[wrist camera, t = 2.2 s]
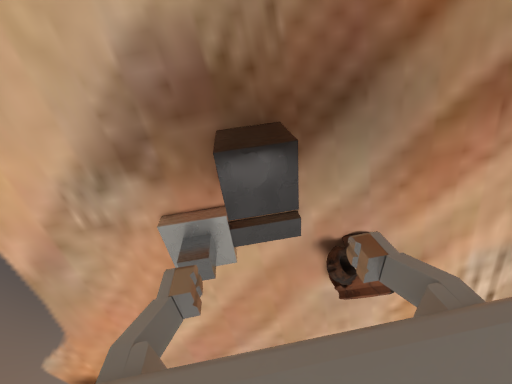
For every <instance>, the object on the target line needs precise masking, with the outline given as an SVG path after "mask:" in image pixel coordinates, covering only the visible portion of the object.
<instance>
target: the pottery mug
mask: <svg viewBox="0 0 512 384" xmlns="http://www.w3.org/2000/svg"><path fill="white" fill-rule="evenodd" d="M355 235H360V234H353V235H348V236H345V237H343V238H342V239H343V242H344V246H345V248H343V247H340V246H336V247H334V248H333V249H332V251H331V252H330V253H329V255H328V258H327V270H328V273H329V278H330V280H331V282H332V283H333V285H334V286H335V289H336V290H337V291H338V292H339V298H340V299H344V300H346V299H358V298H366V297H373V296H378V295H387V294H392V293H394V291H393V290H391V289H390V288H388V287H387V286H385V285H384V284H383V283H381V282H380V280H379V281H373V282H367V283H363V282H362V281H361V279H360V278H359V276H358V274H357V273H356V269H355V268H354V267H353V266H352V265H351V264H350V262H349V260H348V258H347V253H346V251H347V247H348V246H349V245H350V244H349V243H348V238H349V237H350V236H355Z"/></svg>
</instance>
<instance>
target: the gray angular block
mask: <svg viewBox="0 0 512 384" xmlns="http://www.w3.org/2000/svg"><path fill="white" fill-rule="evenodd" d="M157 228H158V230H159V232H160V234H161V237H162V239H163V241H164V243H165V245H166V248H167V250H168V252H169V254H170V256H171V258H172V261H173V263H174V265H175V267H176V268H178V267H185V266H191V265H197V267H198V274H199V275H201V278H202V281H203V280H209V279H214V278H215V277H216V266H219V265H225V264H231V263H237V252H236V247H238V246H244V245H249V244H255V243H261V242H267V241H273V240H279V239H285V238H291V237H297V236H301V217H300V215H299V213H298V211H293V212H286V213H280V214H274V215H268V216H262V217H256V218H250V219H244V220H238V221H231V222H230V220H229V221H228V216H227V212H226V208H225V206H224V207H218V208H212V209H205V210H199V211H193V212H187V213H180V214H174V215H168V216H162V217H161V219H160V221H159V224H158V226H157Z"/></svg>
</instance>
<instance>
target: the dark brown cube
mask: <svg viewBox="0 0 512 384" xmlns="http://www.w3.org/2000/svg"><path fill="white" fill-rule="evenodd" d="M213 155H214V159H215V164H216V168H217V172H218V177H219V181H220V186H221V190H222V194H223V199H224V203H225V208H226V212H227V216H228V221H229V220H235V219H242V218H248V217H254V216H260V215H266V214H272V213H278V212H284V211H291V210H297V209H299V202H298V140H297V139H296V138H295V137H294V136H293V135H292V134H291V133H290V132H289V131H288V130H287V129H286V127H285V126H284V125H283V124H282V123H281V122H274V123H267V124H260V125H253V126H246V127H240V128H233V129H226V130H219V131H216V137H215V144H214V150H213Z"/></svg>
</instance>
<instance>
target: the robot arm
mask: <svg viewBox="0 0 512 384" xmlns="http://www.w3.org/2000/svg"><path fill="white" fill-rule="evenodd" d="M348 243H349V244H350V245H349V246H348V247H347V251H346V253H347V258H348V260H349V262H350V264H351V265H352V266H353V267H355V268H357V270H356V273H357V274H358V276H359V278H360V279H361V281H362V282H363V283H367V282H373V281H379V280H380V282H381V283H383V284H384V285H385V286H387V287H388V288H390V289H391V290H393V291H394V292H396V293H397V294H398V295H400V296H401V297H403V298H404V299H406V300H407V301H409V302H410V303H412V304H413V305H414V306H416V307H417V310H416V312H415V314H414V317H413V318H408V319H404V320H399V321H394V322H389V323H385V324H380V325H375V326H370V327H365V328H361V329H356V330H351V331H346V332H341V333H337V334H332V335H327V336H322V337H317V338H313V339H308V340H303V341H298V342H294V343H289V344H284V345H279V346H274V347H270V348H265V349H260V350H255V351H251V352H246V353H241V354H236V355H231V356H227V357H222V358H217V359H212V360H208V361H203V362H198V363H193V364H188V365H184V366H179V367H174V368H169V369H167V368H166V366H165V365H164V363H163V362H162V361H161V359H160V357H161V356H162V354H163V352H164V351H165V349H166V347H167V346H168V344H169V342H170V341H171V339H172V338H173V336H174V334H175V333H176V331H177V329H178V328H179V326H180V325H181V323H182V321H183V319H185V318H190V317H194V316H199V315H200V314H201V304H202V302H201V299H200V297H201V295H202V293H203V282H202V278H201V275H199V274H198V267H197V265H191V266H185V267H178V268H173V269H167V270H166V271H165V272H164V275H163V278H162V281H161V285H160V288H159V292H158V295H157V298H156V299H155V300H153V301H152V302H151V303H150V304H149V305H148V306H147V307H146V308H145V309H144V311H143V312H142V313H141V314H140V315H139V316H138V317H137V318H136V319H135V320H134V322H133V323H132V324H131V325H130V326H129V327H128V328H127V329H126V330H125V331H124V333H123V334H122V335H121V336H120V337H119V338H118V339H117V340H116V341H115V342H114V344H113V345H112V346H111V347H110V349H109V352H108V354H107V356H106V359H105V361H104V364H103V366H102V369H101V371H100V374H99V376H98V378H97V381H96V383H95V384H512V297H509V298H504V299H499V300H494V301H490V302H485V301H484V300H483V299H482V298H481V297H480V296H479V295H477V294H476V293H475V292H474V291H473V290H472V289H471V288H470V287H468V286H467V285H466V284H465V283H464V282H463V281H462V280H461V279H459V278H458V277H456V276H454V275H451V274H449V273H447V272H445V271H442V270H440V269H438V268H436V267H433V266H431V265H429V264H427V263H424V262H422V261H420V260H418V259H415V258H413V257H411V256H409V255H406V254H404V253H399V252H398V251H397V250H396V249H395V248H394V247H393V246H392V245H391V244H390V243H389V242H388V241H387V240H386V239H385V238H384V237H383V235H382V234H381V233H380V232H378V231H376V232H370V233H365V234H360V235H355V236H350V237H349V238H348Z"/></svg>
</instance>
